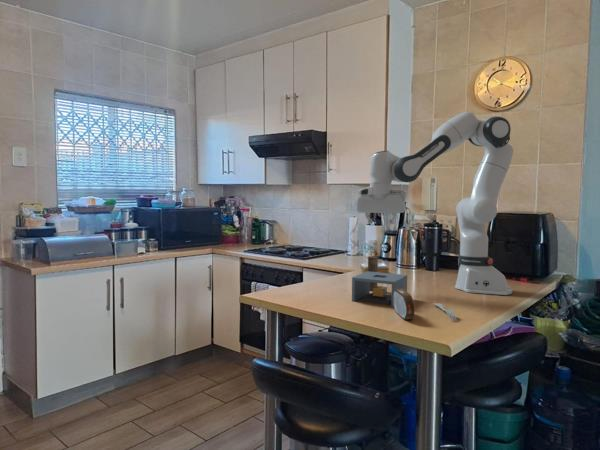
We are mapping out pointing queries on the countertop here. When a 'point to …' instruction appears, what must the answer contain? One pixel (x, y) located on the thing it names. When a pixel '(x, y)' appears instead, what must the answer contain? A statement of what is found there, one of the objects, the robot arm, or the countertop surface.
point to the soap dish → (381, 268)
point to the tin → (403, 304)
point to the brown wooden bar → (372, 269)
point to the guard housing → (363, 282)
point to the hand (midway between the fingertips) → (380, 223)
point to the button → (380, 291)
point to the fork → (446, 311)
